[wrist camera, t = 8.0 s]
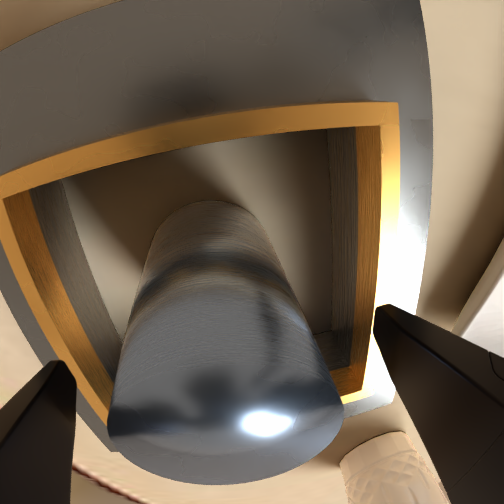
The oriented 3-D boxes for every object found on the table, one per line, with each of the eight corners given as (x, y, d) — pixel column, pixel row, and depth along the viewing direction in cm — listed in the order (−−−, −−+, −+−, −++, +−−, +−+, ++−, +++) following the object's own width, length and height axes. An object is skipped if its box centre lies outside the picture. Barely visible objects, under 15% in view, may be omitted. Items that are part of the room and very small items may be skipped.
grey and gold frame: (382, 7, 9) (446, -15, 5) (375, 373, 18) (402, 422, 14) (-19, 85, 8) (-83, 91, 4) (115, 418, 16) (108, 473, 13)
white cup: (390, 461, 26) (423, 535, 17) (321, 477, 24) (349, 563, 16) (426, 418, 23) (473, 503, 14) (350, 437, 21) (392, 543, 12)
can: (264, 190, 12) (354, 334, 5) (276, 297, 14) (335, 462, 7) (136, 213, 11) (62, 378, 4) (167, 316, 14) (156, 490, 7)
